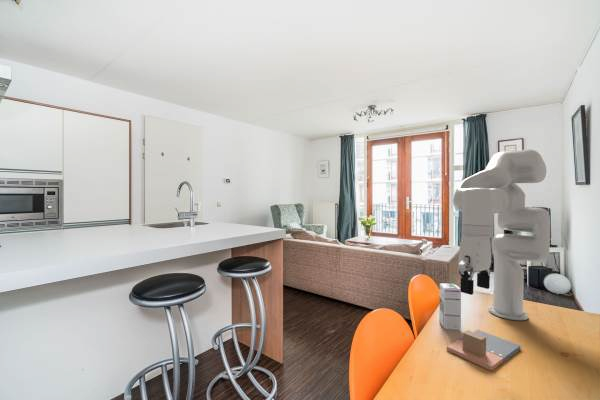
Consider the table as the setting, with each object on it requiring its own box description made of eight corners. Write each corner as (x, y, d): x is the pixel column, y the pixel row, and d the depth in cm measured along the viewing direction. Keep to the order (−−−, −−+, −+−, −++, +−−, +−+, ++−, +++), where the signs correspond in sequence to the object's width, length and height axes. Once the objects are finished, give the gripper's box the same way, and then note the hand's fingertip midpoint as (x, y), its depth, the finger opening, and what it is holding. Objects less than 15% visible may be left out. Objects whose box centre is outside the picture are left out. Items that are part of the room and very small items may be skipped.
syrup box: (461, 330, 98) (462, 288, 97) (442, 328, 99) (443, 287, 99) (455, 323, 103) (456, 283, 103) (438, 321, 104) (439, 282, 104)
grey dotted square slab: (477, 333, 96) (477, 329, 96) (520, 349, 86) (520, 345, 86) (459, 343, 89) (459, 339, 89) (503, 361, 79) (503, 357, 79)
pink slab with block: (459, 342, 89) (459, 323, 89) (503, 361, 79) (503, 340, 79) (446, 349, 85) (447, 329, 85) (491, 370, 75) (491, 347, 75)
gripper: (477, 228, 89) (475, 282, 90) (447, 231, 80) (446, 291, 80) (504, 230, 83) (502, 289, 83) (476, 234, 73) (474, 300, 74)
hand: (475, 290), depth 82 cm, fingers open, 9 cm apart
